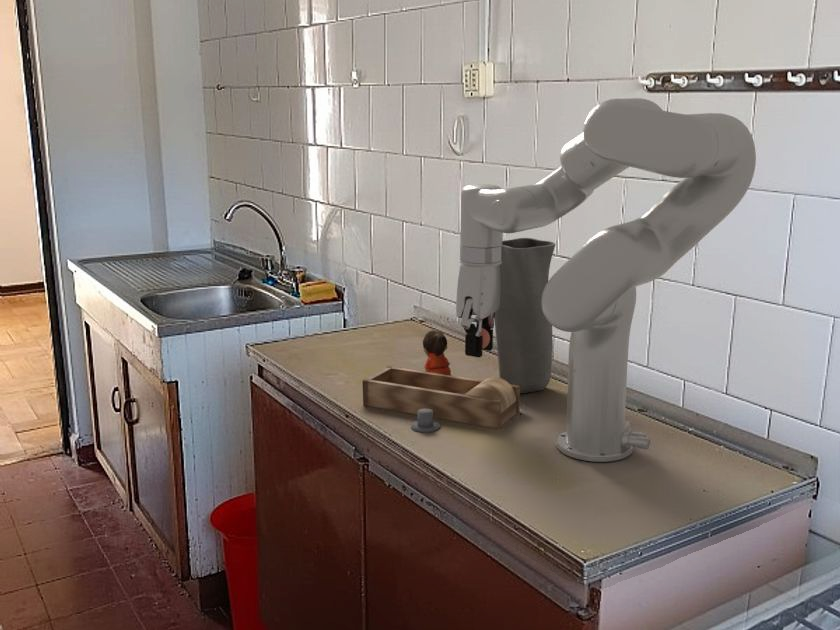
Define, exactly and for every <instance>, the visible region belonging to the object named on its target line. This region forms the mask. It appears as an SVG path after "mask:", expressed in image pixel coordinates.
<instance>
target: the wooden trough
mask: <svg viewBox="0 0 840 630" xmlns="http://www.w3.org/2000/svg"><path fill="white" fill-rule="evenodd" d="M520 395H521V394H520V386H517V385H511V384H509V383H508V382H507V381H505V380H503V379H501V378H500V377H496V376H493V377H488V378H485V379H484V380H483V379H477V378H476V379H475V378H472V377H471V378H470V377H465V376H464V377H463V376H457V375H452V374H451V375H444V374H437V373H431V372H425V370H424V371H423V370H416V369H408V368H403V367H396V366H389V365H388V366H386V367H384V368H383V369H381V370H378V371H376V372H375V373H374V374H371V375H370V376H368V377H366V378H364V379H362V404H363V406H368V407H373V408H379V409H385V410H389V411H390V410H391V411H395V412H402V413H408V414H411V415H412V414H414V415H418V414H417V411H418V410H420V409H431V410H433V418H437V419H442V420H447V421H452V422H460V423H464V424H471V425H476V426H481V427H488V428H492V429H501V427H502V426H503V425H504V424H505V423H506V422H507V421H508V420H509V419H511V418H512V417H513V416H515V414H517V413H519V412H520V397H521V396H520Z"/></svg>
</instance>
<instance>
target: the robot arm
mask: <svg viewBox="0 0 840 630" xmlns="http://www.w3.org/2000/svg"><path fill="white" fill-rule="evenodd" d="M582 129H583V130H582V132H581V133H580V134H578V135H577V136H576V137H574V138H573V139H571V140H570V141H568V142H566V143H565V144H564V145H563V147H562V148H561V151H560V154H559V160H560V165H561V166H559V167H558V168H557V169H556V170H554V171H553V172H552V173H550V174H549V175H548V176H546V177H545V178H542V179H541V180H539V182H537V183H535V184H527V185H521V186H516V187H510V188H509V187H508V188H502V187H501V186H499V185H497V184H488V183H473V184H469V185H465V186H464V187H463V188H462V190H461V193H460V233H459V234H460V236H459V237H460V238H459V241H460V243H459V244H460V245H459V248H460V249H459V263H460V267H459V271H458V278H457V286H456V287H457V288H456V289H457V290H456V302H455V316H456V317H457V318H458V319H461V320H460V326H461V327H462V328H463V330H464V331H463V332H464V333H463V334H464V336H465V337H464V338H465V339H464V341H465V342H464V343H465V345H464V347H465V348H464V353H465V356H468V357H473V358H482V357H483V351H489V352H490V351H492V350H493V348H494V347H493V345H494V329H495V322H494V317H495V313H496V311H497V310H498V309H499V306H500V264H502V246H503V245H502V242H503V241H504V240H503V236H504V234H516V233H520V232H525V231H528V230H534V229H537V228H542V227H546V226H548V225H550V224H552V223H554V222H556V221H558V220H559V219H561V218H563V217H564V216H565V215H567V214H569V213H570V212H572V211H573V210H575V209H577V208H578V207H579V206H580V205H582V204H583V203H584V202H586V200H587V199H589V197H590V196H592V194H593V193H594V191H595V190H596V189H598V188H599V187H600V186H602V185H603V184H605V183H607V182H608V181H610V180H611V179H613V178H614V177H616V176H618V175H619V174H620V173H622V172H625V170H627V169H628V168H630V167H631V168H634V169H638V170H641V171H646V172H649V173H652V174H653V173H654V174H658V175H662V176H666V177H670V178H678V179H679V178H680V179H682V180H680V181H679V182H678V183H677V184H675V185H674V186H673V187H672V188H670V189H669V190H667V192H666V193H664V194H663V195H662V196H661V197H660V198H659V200H658V201H656V203H655V204H653V205H652V206H651V207H650V208H649V209H648V210H647V211H645V213H643V214H642V215H641V216H639V217H637V218H636V219H634V220H633V219H632V220H631V221H628V222H624V223H620V224H615V225H612V226H609V227H607V228H605V229H603V230H601V231H599V232H597V233H596V234H595V235H593V236H592V237H591V238H590V239H589V240H587V241H586V242H585V243H584V244H583V246H581V247H580V248H579V249H578V250H576V251H575V253H574V254H573V255H572V256H571V257H570V258H569V259H568V260H567V261H566V262H565V263H564V264H563V265H562V266H561V267H560V268H559V269H557V271H556V272H555V273H554V274H553V275H552V276H551V277H550V278H549V279H548V282H547V284H546V286H545V288H544V291H543V294H542V310H543V313H544V316H545V318H546V319H547V321H548V322H549V323H550V324H551V325H552V327H554V328H555V329H557V330H560V331H562V332H567V333H570V336H569V337H570V339H569V344H568V345H569V346H568V368H567V369H568V370H567V373H568V374H567V395H566V397H567V398H566V401H567V403H566V404H567V405H566V428H565V429H566V431H563V432H562V433H560V434H558V436H557V437H556V447H557V449H558V450H559V452H561V453H562V454H564V455H565V456H568V457H569V458H570V457H571V458H573V459H576V460H581V461H585V462H594V463H595V462H596V463H604V462H605V463H606V462H607V463H608V462H615V461H620V460H623V459H625V458H627V457H629V456H631V454H632V453H633V451H634V448H636V449H641V450H649V449H650V446H651V445H650V444H651V438H650V437H647V433H646V432H640V431H633V429H631V428H630V423H631V422H630V421H627V420H626V404H627V403H626V402H627V400H626V399H627V385H628V384H627V380H628V362H629V346H630V345H629V344H630V335H631V328H632V323H633V318H634V317H633V316H634V313H635V309H636V302H637V287H639V286H641V285H644V284H648V283H650V282H653V281H656V280H657V279H659V278H660V277H662V276H664V274H666V273H667V272H668V271H669V270H670V269H672V267H673V266H674V265H676V263H677V262H678V261H679V260H681V259H682V257H684V256H685V255H686V254H687V253H688V252H689V251H691V250H692V249H693V248H694V247H695V246H696V245H697V244H699V243H700V242H701V241H702V240H703V239H704V238H705V237H706V236H707V235H708V234H709V233H710V232H711V231H712V230H713V229H715V228H716V227H717V226H718V225H719V224H721V222H723V220H725V218H727V216H728V215H730V214H731V213H732V212H733V211H734V210H735V208H736V207H738V204H739V203H740V202H741V201H742V200H743V198H744V197H745V195H746V194H747V192H748V191H749V188H750V186H751V184H752V180H753V178H754V175H755V171H756V164H757V163H756V162H757V158H756V157H757V154H756V145H755V141H754V138H753V135H752V134H751V131H750V130H749V128H748V127H747V125H746V124H745V123H744V122H742V121H741V120H740V119H739V118H737V117H735V116H732V115H729V114H726V113H721V112H720V113H717V112H716V113H715V112H714V113H712V112H707V113H705V112H704V113H689V114H684V113H678V112H672V111H666V110H663V108H661V106H660V105H659V104H657V103H656V102H654V101H652V100H650V99H646V98H639V97H635V98H634V97H633V98H612V99H610V98H609V99H608V100H607V99H606V100H604V101H602V102H601V103H599V104H597V105H596V106H595V107H593V109H592V110H591V111H590V112H589V113H588V115H587V116H586V117H585V121H584V123H583V128H582ZM473 316H475V317H473ZM475 323H476V324H475ZM481 328H483V329H485V330H487V332H488V333H489V335H490V342H489V344H488V345H487V346H486V347H485V348H483V349H482V347H483V336H480V335H481Z"/></svg>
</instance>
